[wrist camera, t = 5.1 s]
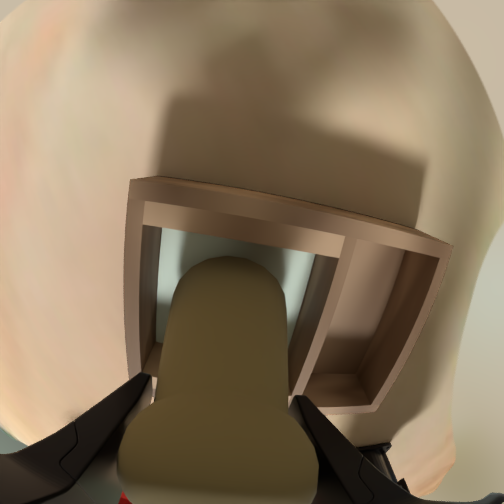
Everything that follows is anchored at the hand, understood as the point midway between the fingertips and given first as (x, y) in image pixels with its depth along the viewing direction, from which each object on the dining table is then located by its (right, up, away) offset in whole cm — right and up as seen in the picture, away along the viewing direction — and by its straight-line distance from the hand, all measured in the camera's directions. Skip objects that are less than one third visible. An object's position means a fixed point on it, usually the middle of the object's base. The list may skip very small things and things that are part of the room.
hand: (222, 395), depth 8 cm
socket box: (+3, +2, +8) cm, 9 cm away
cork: (0, +2, +6) cm, 6 cm away
